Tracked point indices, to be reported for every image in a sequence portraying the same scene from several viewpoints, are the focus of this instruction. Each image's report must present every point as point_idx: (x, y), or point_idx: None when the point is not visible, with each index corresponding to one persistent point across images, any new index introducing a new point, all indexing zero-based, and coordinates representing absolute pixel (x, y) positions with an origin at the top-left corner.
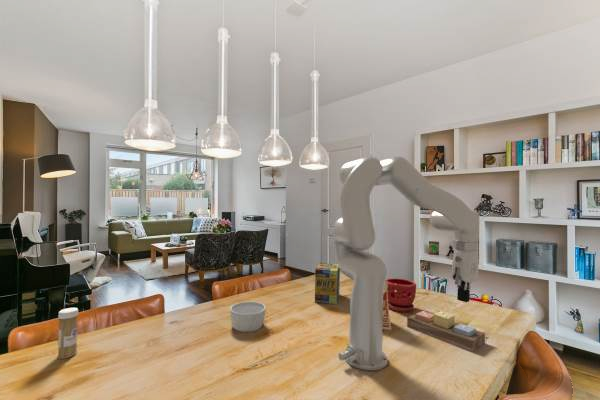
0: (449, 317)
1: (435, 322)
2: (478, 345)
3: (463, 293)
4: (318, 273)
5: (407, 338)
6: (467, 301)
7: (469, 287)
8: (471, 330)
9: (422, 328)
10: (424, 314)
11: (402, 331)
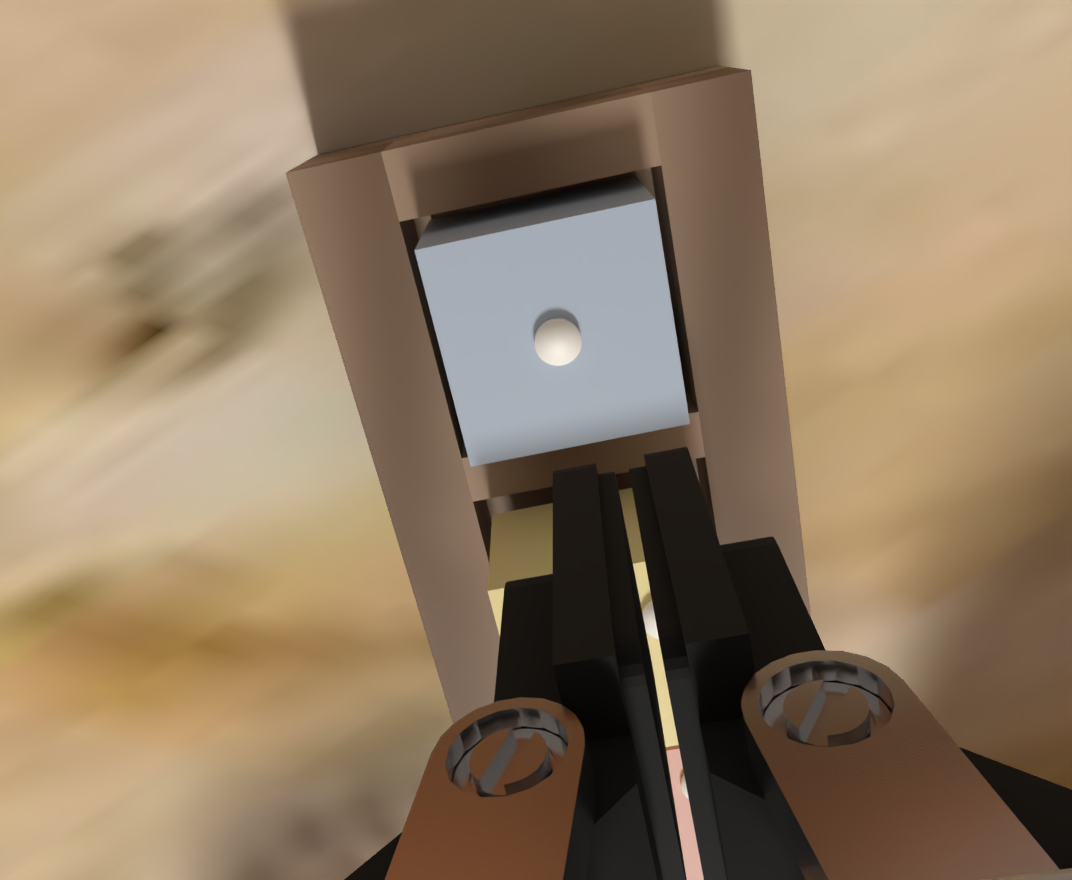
0: (644, 567)
1: None
2: (514, 112)
3: (818, 637)
4: None
5: (1069, 597)
6: (675, 449)
7: (494, 765)
8: (558, 223)
9: None
10: (678, 825)
11: (960, 724)
